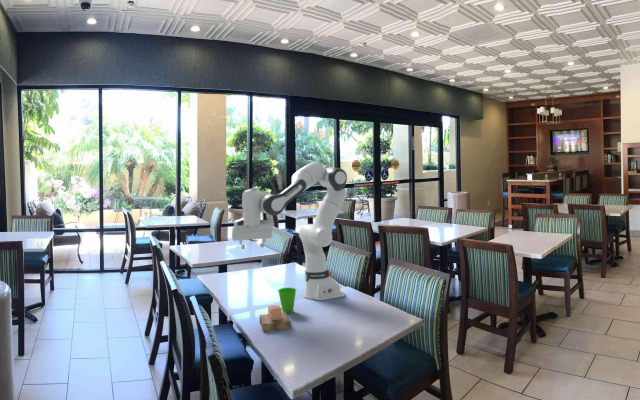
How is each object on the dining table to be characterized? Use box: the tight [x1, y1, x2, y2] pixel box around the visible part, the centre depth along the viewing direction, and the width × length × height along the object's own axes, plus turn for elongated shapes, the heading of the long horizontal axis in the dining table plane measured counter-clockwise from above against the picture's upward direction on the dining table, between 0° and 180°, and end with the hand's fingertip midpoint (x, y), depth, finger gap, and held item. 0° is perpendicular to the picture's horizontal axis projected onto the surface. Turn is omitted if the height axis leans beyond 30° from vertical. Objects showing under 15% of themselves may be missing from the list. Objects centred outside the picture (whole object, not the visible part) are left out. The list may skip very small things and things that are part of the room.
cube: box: [267, 304, 283, 321], centre depth 191 cm, size 5×5×5 cm
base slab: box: [259, 311, 291, 333], centre depth 192 cm, size 12×12×4 cm
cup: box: [277, 286, 297, 315], centre depth 209 cm, size 9×9×11 cm
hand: (252, 248), depth 216 cm, fingers open, 8 cm apart
